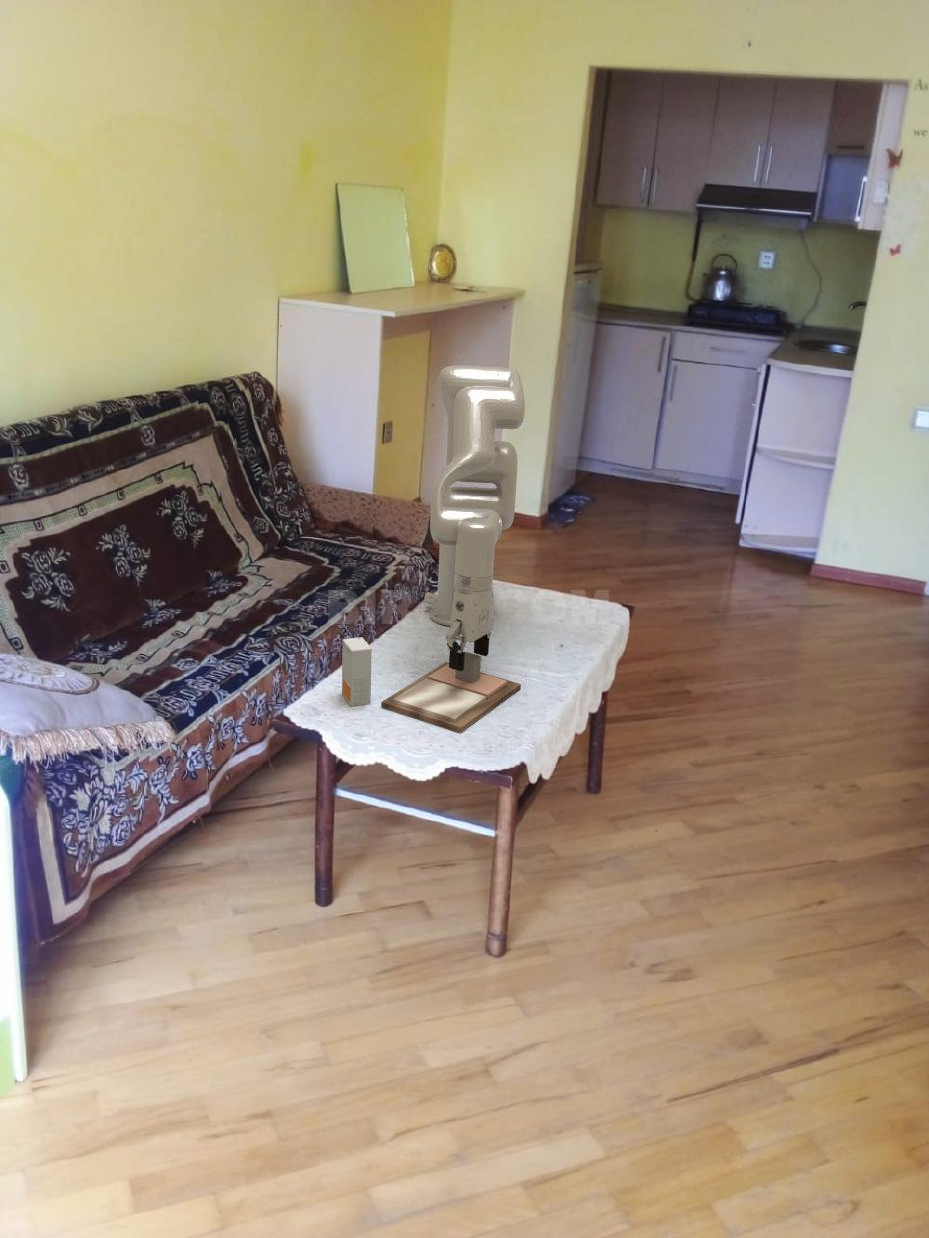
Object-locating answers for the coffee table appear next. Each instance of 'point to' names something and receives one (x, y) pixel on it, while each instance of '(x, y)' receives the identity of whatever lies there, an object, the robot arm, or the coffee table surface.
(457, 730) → the board
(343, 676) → the skincare box
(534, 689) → the coffee table surface
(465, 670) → the peach lid with handle
